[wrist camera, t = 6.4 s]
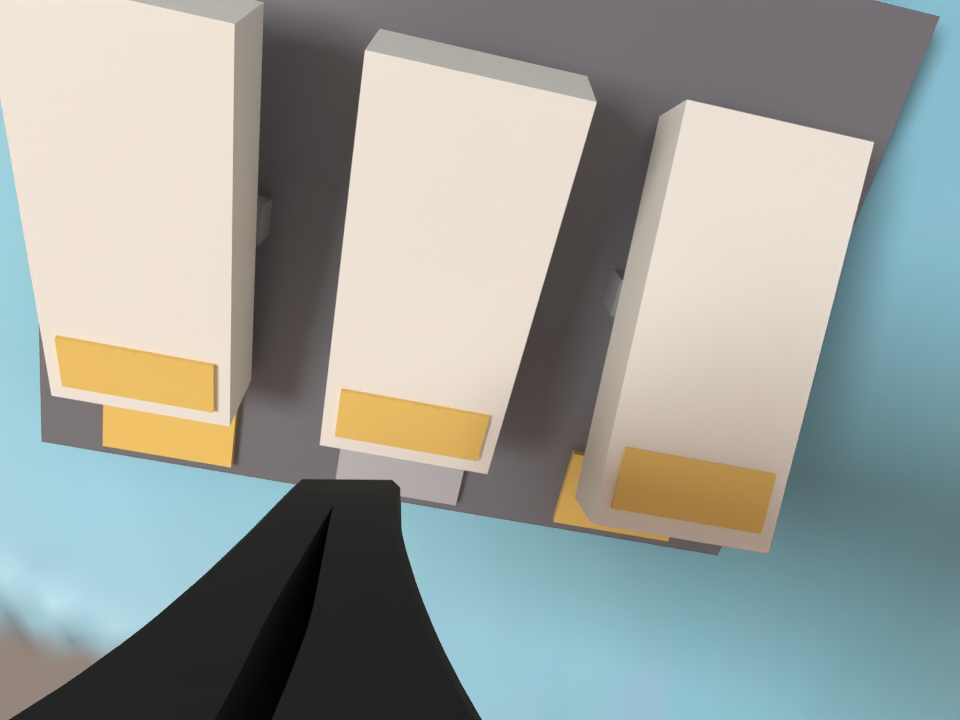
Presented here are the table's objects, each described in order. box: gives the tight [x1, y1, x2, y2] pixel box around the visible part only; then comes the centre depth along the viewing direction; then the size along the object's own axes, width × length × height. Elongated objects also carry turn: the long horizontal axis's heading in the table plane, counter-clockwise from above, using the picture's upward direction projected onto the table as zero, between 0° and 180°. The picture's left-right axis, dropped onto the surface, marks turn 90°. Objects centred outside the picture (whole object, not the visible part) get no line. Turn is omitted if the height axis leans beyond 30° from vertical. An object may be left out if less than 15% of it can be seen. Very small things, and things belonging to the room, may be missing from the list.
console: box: [39, 0, 940, 555], centre depth 16 cm, size 17×13×2 cm
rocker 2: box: [320, 29, 597, 474], centre depth 14 cm, size 4×8×2 cm, turn 168°
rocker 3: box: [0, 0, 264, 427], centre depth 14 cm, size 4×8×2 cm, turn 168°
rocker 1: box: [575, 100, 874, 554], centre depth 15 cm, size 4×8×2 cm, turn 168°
